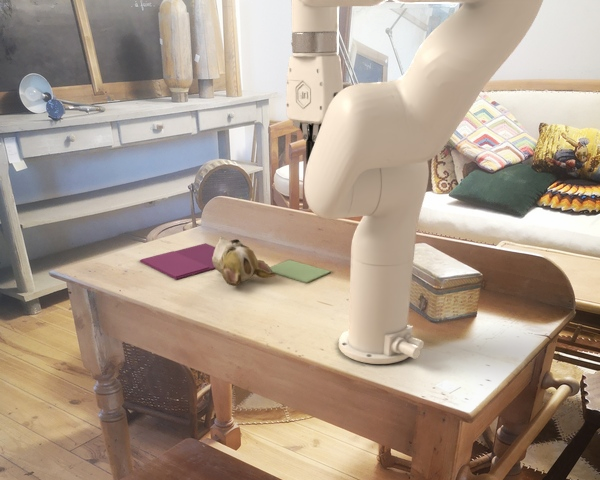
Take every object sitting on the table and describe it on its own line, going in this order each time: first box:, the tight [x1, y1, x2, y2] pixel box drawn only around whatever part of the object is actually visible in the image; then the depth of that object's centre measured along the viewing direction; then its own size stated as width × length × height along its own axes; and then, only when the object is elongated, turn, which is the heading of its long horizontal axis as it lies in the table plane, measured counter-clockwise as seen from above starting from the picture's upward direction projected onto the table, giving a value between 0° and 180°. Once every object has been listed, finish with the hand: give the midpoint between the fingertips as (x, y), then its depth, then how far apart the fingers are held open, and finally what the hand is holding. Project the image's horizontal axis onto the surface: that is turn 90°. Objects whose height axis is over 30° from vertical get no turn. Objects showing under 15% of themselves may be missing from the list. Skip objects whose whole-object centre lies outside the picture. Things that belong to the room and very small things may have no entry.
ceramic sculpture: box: [212, 236, 277, 287], centre depth 124 cm, size 11×9×15 cm
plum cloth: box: [139, 243, 216, 280], centre depth 136 cm, size 16×18×1 cm
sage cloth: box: [269, 259, 331, 284], centre depth 129 cm, size 12×8×1 cm, turn 49°
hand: (315, 164), depth 107 cm, fingers closed
